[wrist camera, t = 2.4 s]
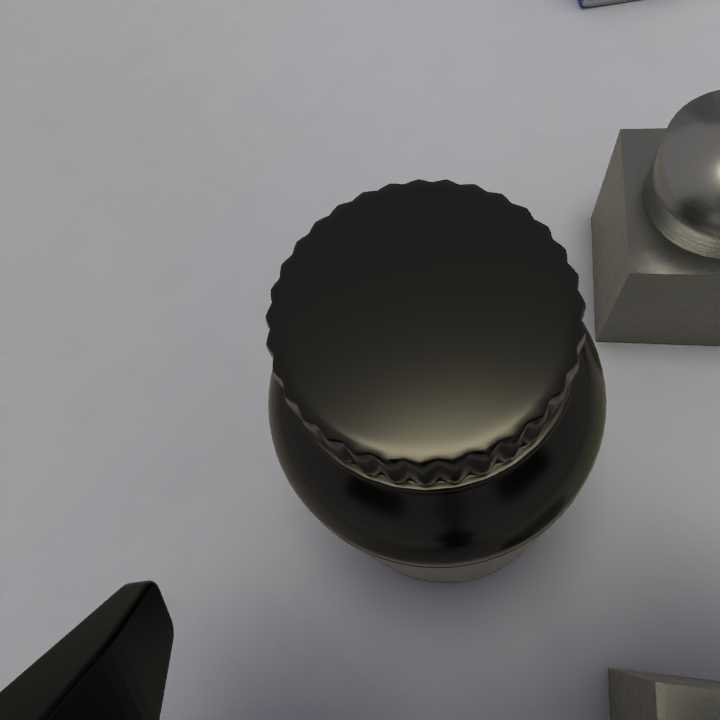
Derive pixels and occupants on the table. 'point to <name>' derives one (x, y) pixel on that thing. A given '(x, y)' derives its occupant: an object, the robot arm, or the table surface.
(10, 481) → the table surface
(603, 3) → the medicine box
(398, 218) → the supplement bottle
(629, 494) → the table surface
